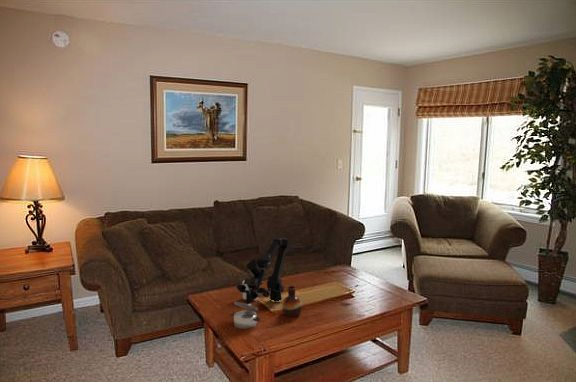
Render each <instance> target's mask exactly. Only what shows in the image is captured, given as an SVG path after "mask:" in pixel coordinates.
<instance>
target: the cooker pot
mask: <svg viewBox="0 0 576 382" xmlns="http://www.w3.org/2000/svg"><path fill="white" fill-rule="evenodd" d="M230 316H233V324H234V327H235V328H237V329H242V330H245V329H250V328H251V329H252V328H253V327H256V325H257V323H258V322H260V320H261V317H258V315H257V312H256V311H255V310H251V309H247V310H246V309H244V310H240V311H239V310H238V311H237V312H235V311H232V312H231V313H230Z"/></svg>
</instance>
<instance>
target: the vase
mask: <svg viewBox="0 0 576 382" xmlns="http://www.w3.org/2000/svg"><path fill="white" fill-rule="evenodd" d="M287 293H288V295H287V296H285V298H284V299H283V300H282V302H281V304H282V305H281V307H282V311H283V314H284V315H285V316H286V317H290V318H296V317H298V316H300V315H301V313H302V310H303V302H302V300H301V299H300V297H298V296H296V286H293V285H291V286H288V287H287Z"/></svg>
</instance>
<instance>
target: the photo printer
mask: <svg viewBox="0 0 576 382" xmlns="http://www.w3.org/2000/svg"><path fill="white" fill-rule="evenodd" d="M241 284H244V280H243V281H242V283H241ZM244 285H245V286H246V287H248V286H247V284H244ZM242 299H243V300H245V301H246V293H243V292H242ZM258 299H260V296H259V297H257V298H256V299H254V300H253V301H255V302H256V301H259V300H258Z"/></svg>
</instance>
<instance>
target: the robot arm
mask: <svg viewBox="0 0 576 382" xmlns="http://www.w3.org/2000/svg"><path fill="white" fill-rule="evenodd" d="M292 245H293V242H292V241H291V239H290V238H286V237H285V238H284V237H280V238H273V239H272V242H271V244H270V245H269V247H267V250H266V252H264V254H262V255H260V256H259V257H258V258H257V259H255V258H253V259H252V260H251V261H249V262H248V263H247V264H246V268H247V270H248V271H249V272H250V274H252V276H251V277H250V278H247V277H246V278H244V280H243V281H244V284H247V286H248V287H246V286H245V285H244V284H242V283H238V284H237V285H236V286H235V288H236V289H237V290H238V291H239V292H240V293H242V294H243V293H246V300H245V304H249V303H250V304H252V302H253V301H254V299H256V298H257V297H259V298H260V294H262V296H263V297H264V298H269V300H270V299H271V300H274V301H279V300H281V299H282V300H283V296H282V293H284V291H285V286H284V285H283V284H282V276H281V275H282V272H283V267H284V263H285V260H286V259H285V258H286V255H287V253H288V252H289V251H290V249H291V247H292ZM276 253H277V254H276ZM275 254H276V259H275V263H274V267H273V271H272V274H271V275H269V276H268V278H267V282H266V287H267V288H265V287H261V285H263V279H264V278H265V276H267V271H266V270H268V269H270V268H271V265H272V262H273V261H272V259H273V258H274V256H275ZM271 300H270V301H271Z"/></svg>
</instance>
